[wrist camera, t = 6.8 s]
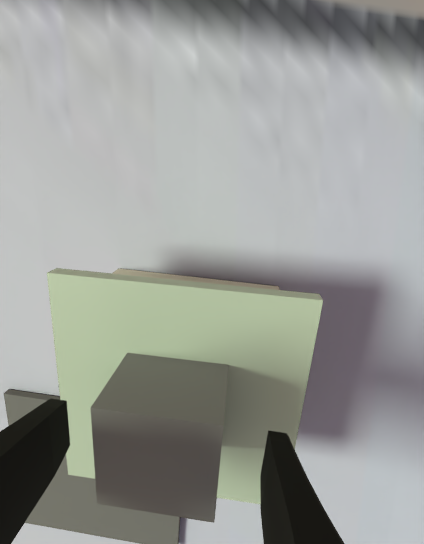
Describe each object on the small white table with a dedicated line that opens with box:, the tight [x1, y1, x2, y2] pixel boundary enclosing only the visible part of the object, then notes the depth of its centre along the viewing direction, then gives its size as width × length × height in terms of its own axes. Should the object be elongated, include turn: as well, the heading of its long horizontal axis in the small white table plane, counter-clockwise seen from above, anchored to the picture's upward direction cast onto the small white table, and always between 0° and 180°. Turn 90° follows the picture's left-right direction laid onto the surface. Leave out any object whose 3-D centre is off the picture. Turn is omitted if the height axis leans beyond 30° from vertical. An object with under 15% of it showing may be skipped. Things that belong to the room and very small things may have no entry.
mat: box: [4, 389, 180, 544], centre depth 20 cm, size 11×11×1 cm
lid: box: [47, 268, 323, 522], centre depth 11 cm, size 10×10×4 cm
